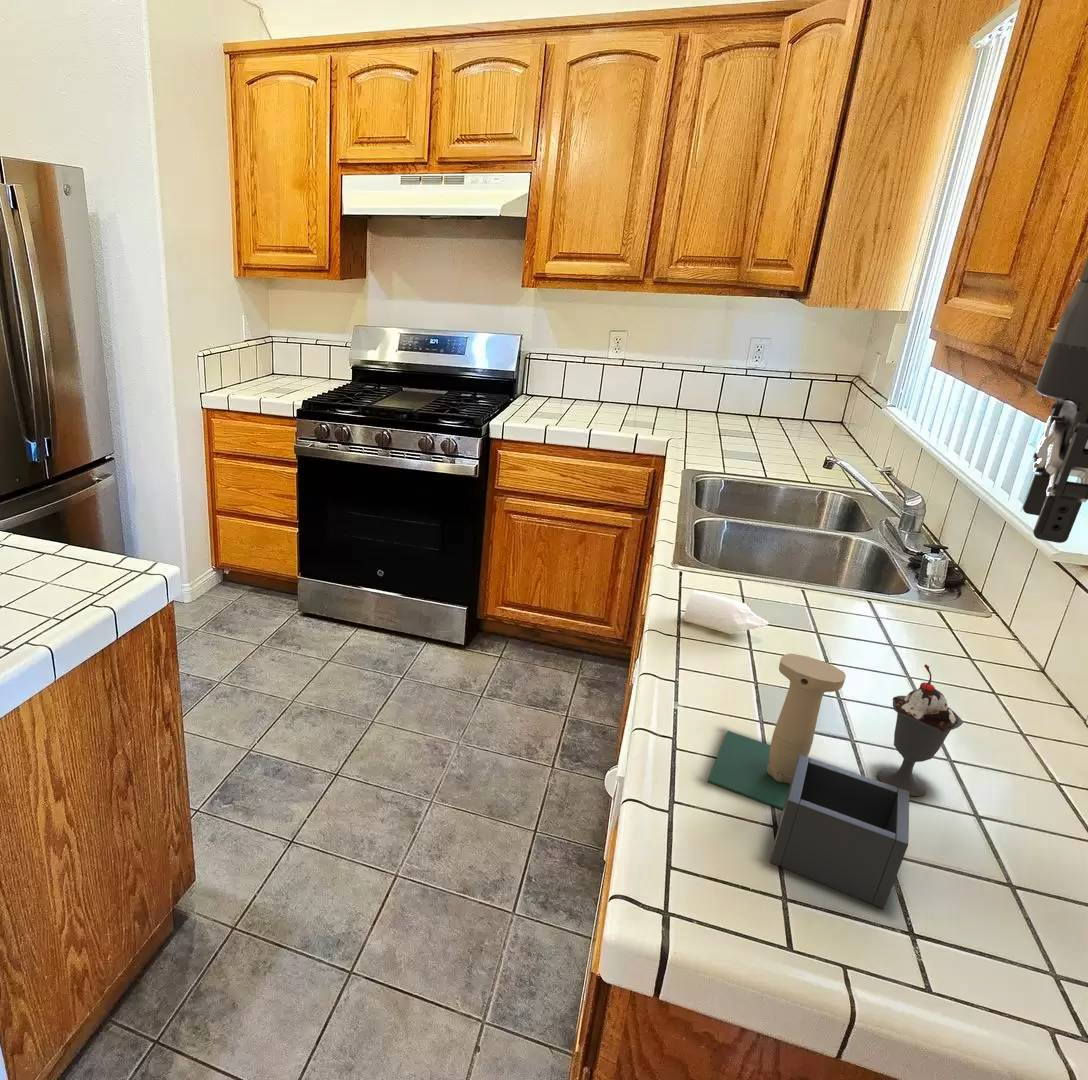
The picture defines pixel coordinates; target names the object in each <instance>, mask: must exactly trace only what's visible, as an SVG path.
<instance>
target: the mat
mask: <svg viewBox="0 0 1088 1080" xmlns="http://www.w3.org/2000/svg"><path fill="white" fill-rule="evenodd" d="M770 746H771V744H768V743H766V742H762V741H759V740H756V739H753V738H750V737H748V736H744V735H741V734H738V733H736V732H733V731H730V730H727V732H726V733H725V736H724V739H723V741H722V744H721V747H720V748H719V751H718V754H717V757H716V759H715V761H714V764H713V767H712V769H711V772H710V774H709V776H708V779H707V783H710V784H712V785H715V786H717V787H721V788H723V789H726V790H729V791H731V792H733V793H736V794H739V795H741V796H744V797H747V798H749V799H751V800H752V799H753V800H754V801H757V802H760V803H762V804H765V805H768V806H771V807H773V808H776V809H779V810H781V811H783V807H784V804H785V800H786V797H787V794H788V790H789V787H790V784H789V783H784V782H781V783H780V782H777V781H776V780H775V779H774V778H773V777H772V776H771V775H769V774H768V772H767V767H768V764H769V763H770V761H769V754H770Z"/></svg>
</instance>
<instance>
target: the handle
mask: <svg viewBox="0 0 1088 1080" xmlns="http://www.w3.org/2000/svg"><path fill="white" fill-rule="evenodd" d="M778 671H779V673H780V674H781V675H782V676H784V677H785V678H786V679H788V681H789V687H788V690H787V693H786V696H785V699H784V702H783V705H782V708H781V711H780V713H779V716H778V719H777V721H776V724H775V727H774V730H773V732H772V735H771V736H772V737H771V741H770V745H771V746H770V754H769V761H770V763H769V764H768V767H767V772H768V774H769V775H771V776H772V777H773V778H774V779H775V780H776V781H777V782H780V783H781V782H784V783H789V784H790V783H791V780H792V776H793V773H794V770H795V766H796V763H797V759H798V756H799V754H800V755H803V756H806V757H809V754H810V752H811V749H812V746H813V742H814V736H815V733H816V726H817V722H818V717H819V713H820V710H821V709H820V708H821V705H822V700H823V697H824V694H825V693H833V692H838V691H840V690H841V689H842V688H843V686H844V684H845V681H846V678H847V675H846V673H845V672H844V671H843V670H842V669H840V668H838V667H836V666H835V665H833V664H831V663H828V662H825V661H823V660H820V659H817V658H814V657H812V656H808V655H802V654H796V653H785V654H783V656H781V657H780V660H779V664H778Z"/></svg>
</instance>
